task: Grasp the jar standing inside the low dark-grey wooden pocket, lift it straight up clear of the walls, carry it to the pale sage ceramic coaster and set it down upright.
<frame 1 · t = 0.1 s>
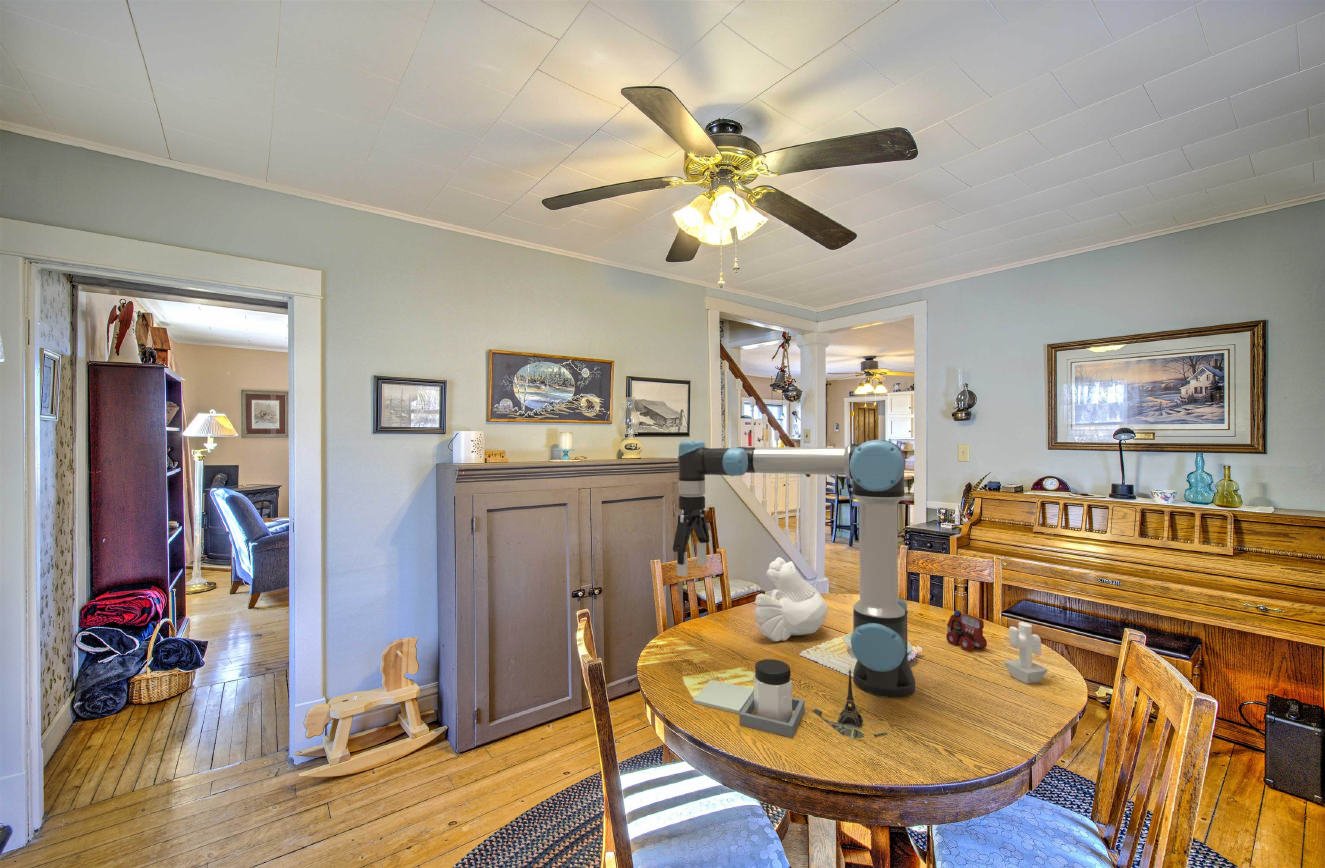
hand: (692, 570, 150), 28 cm above the table, fingers open, 13 cm apart
pocket: (772, 717, 124), on the table
figurine: (1025, 679, 143), on the table
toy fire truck: (965, 646, 165), on the table
eiffel tower figurine: (848, 724, 122), on the table
decorative rooster: (787, 635, 175), on the table
jar: (772, 718, 124), resting in pocket
coaster: (724, 697, 134), on the table
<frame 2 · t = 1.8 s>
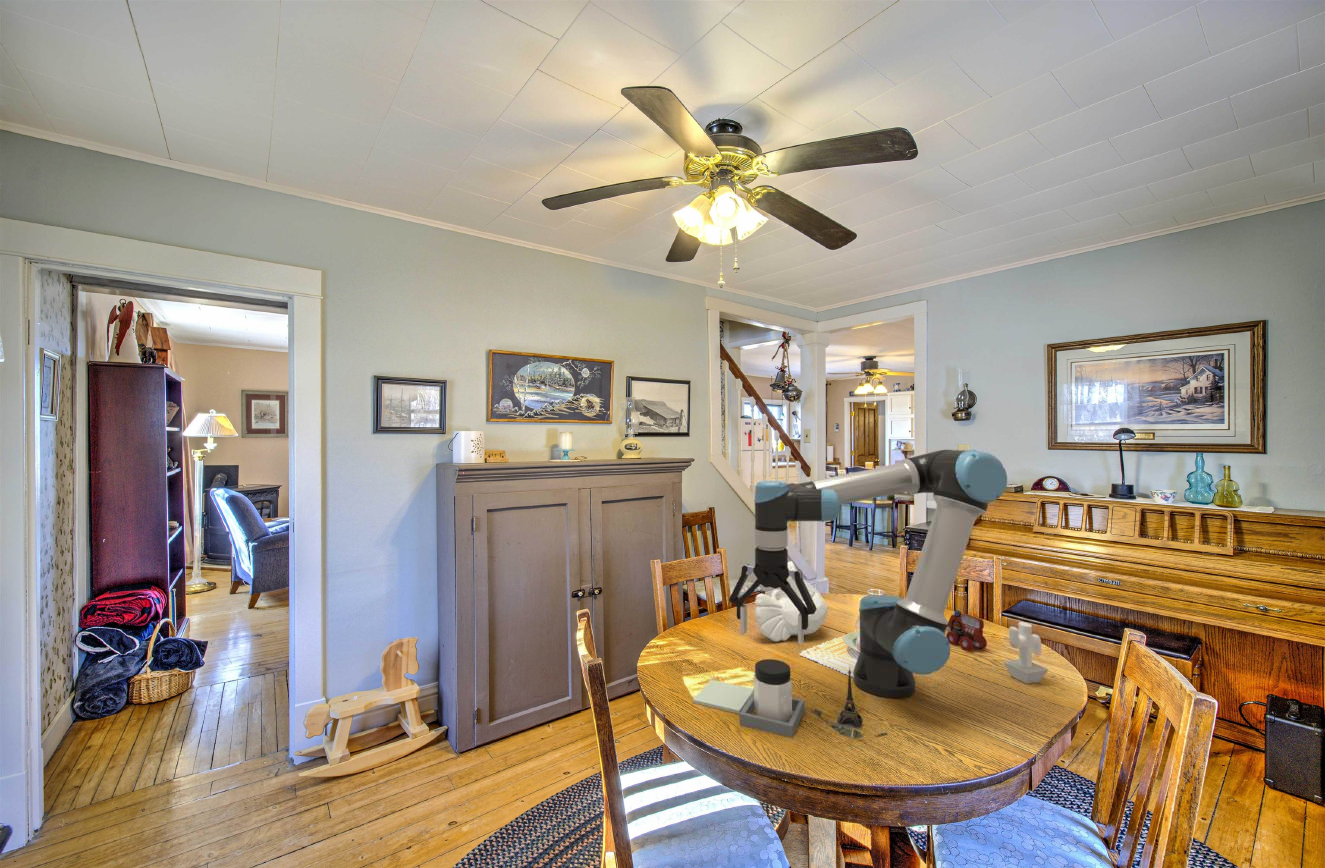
hand: (771, 637, 124), 18 cm above the table, fingers open, 13 cm apart
nothing on the table moved.
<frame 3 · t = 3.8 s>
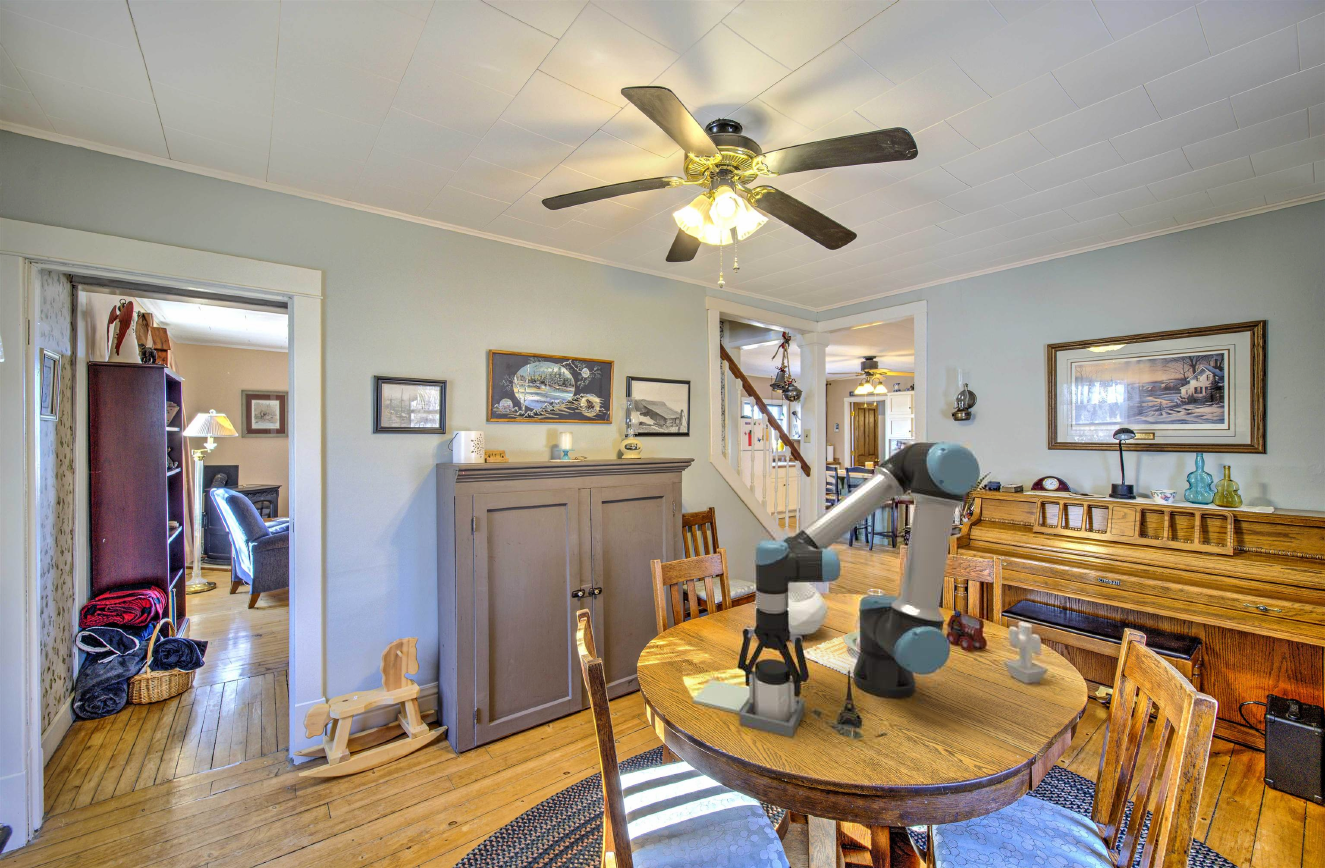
hand: (772, 704, 124), 3 cm above the table, fingers closed on jar, 9 cm apart
jar: (772, 718, 124), resting in pocket, touching gripper
everything else where it was.
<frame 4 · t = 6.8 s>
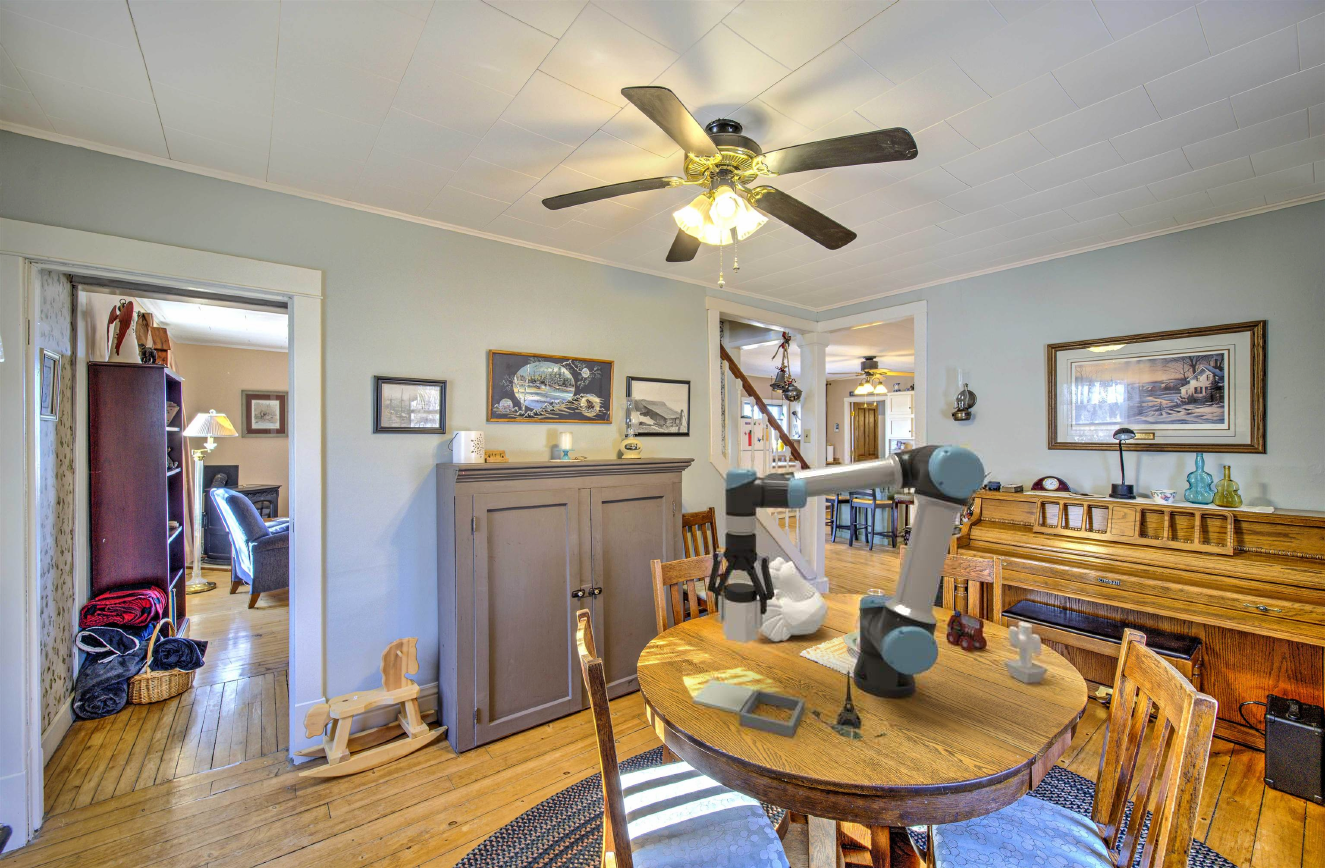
hand: (740, 623, 130), 20 cm above the table, fingers closed on jar, 9 cm apart
jar: (740, 637, 130), point 17 cm above the table, touching gripper
everything else where it was.
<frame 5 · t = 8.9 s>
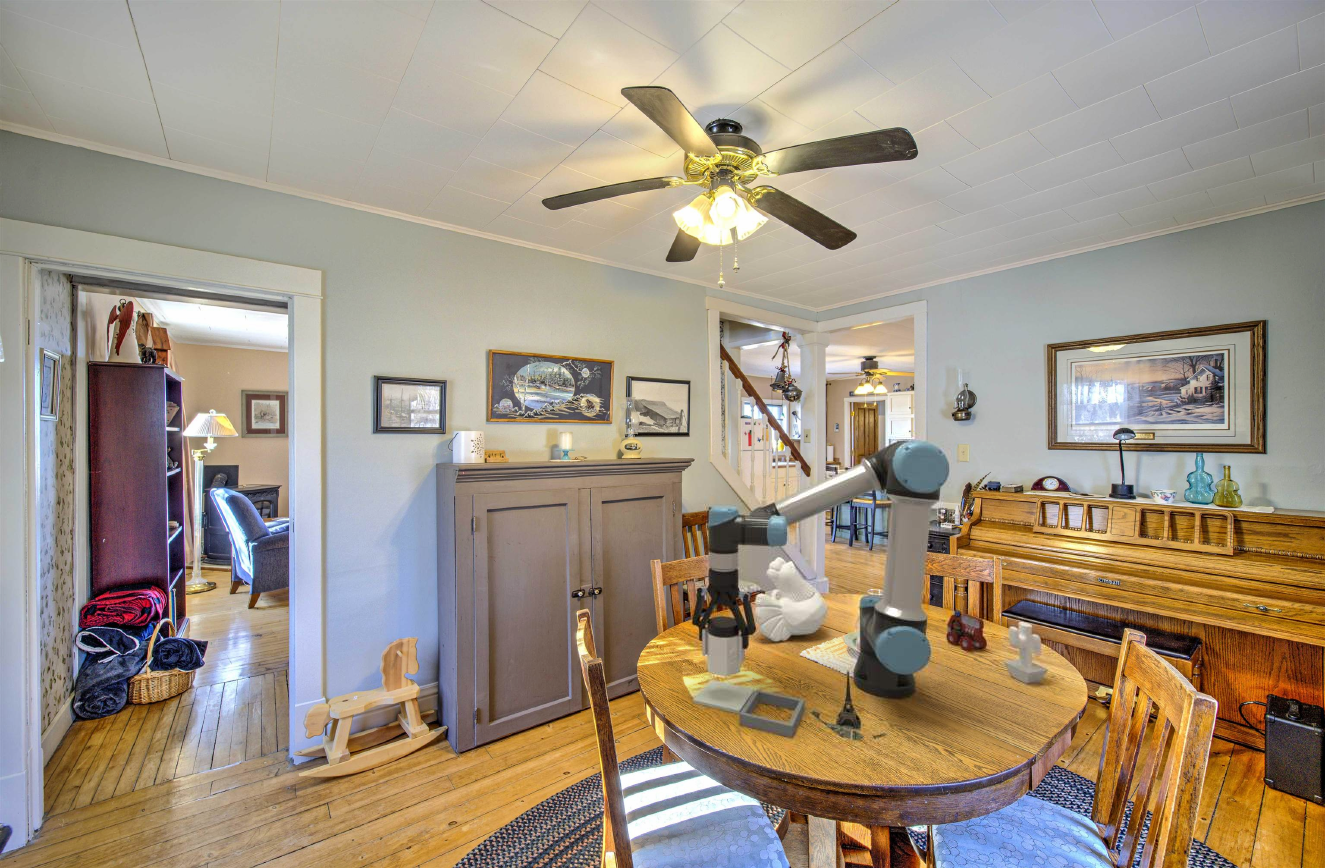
hand: (723, 657, 134), 10 cm above the table, fingers closed on jar, 9 cm apart
jar: (723, 669, 134), point 7 cm above the table, touching gripper
everything else where it was.
when the fingers open (5 cm above the table, at t = 10.3 s): jar drops 2 cm, resting on coaster.
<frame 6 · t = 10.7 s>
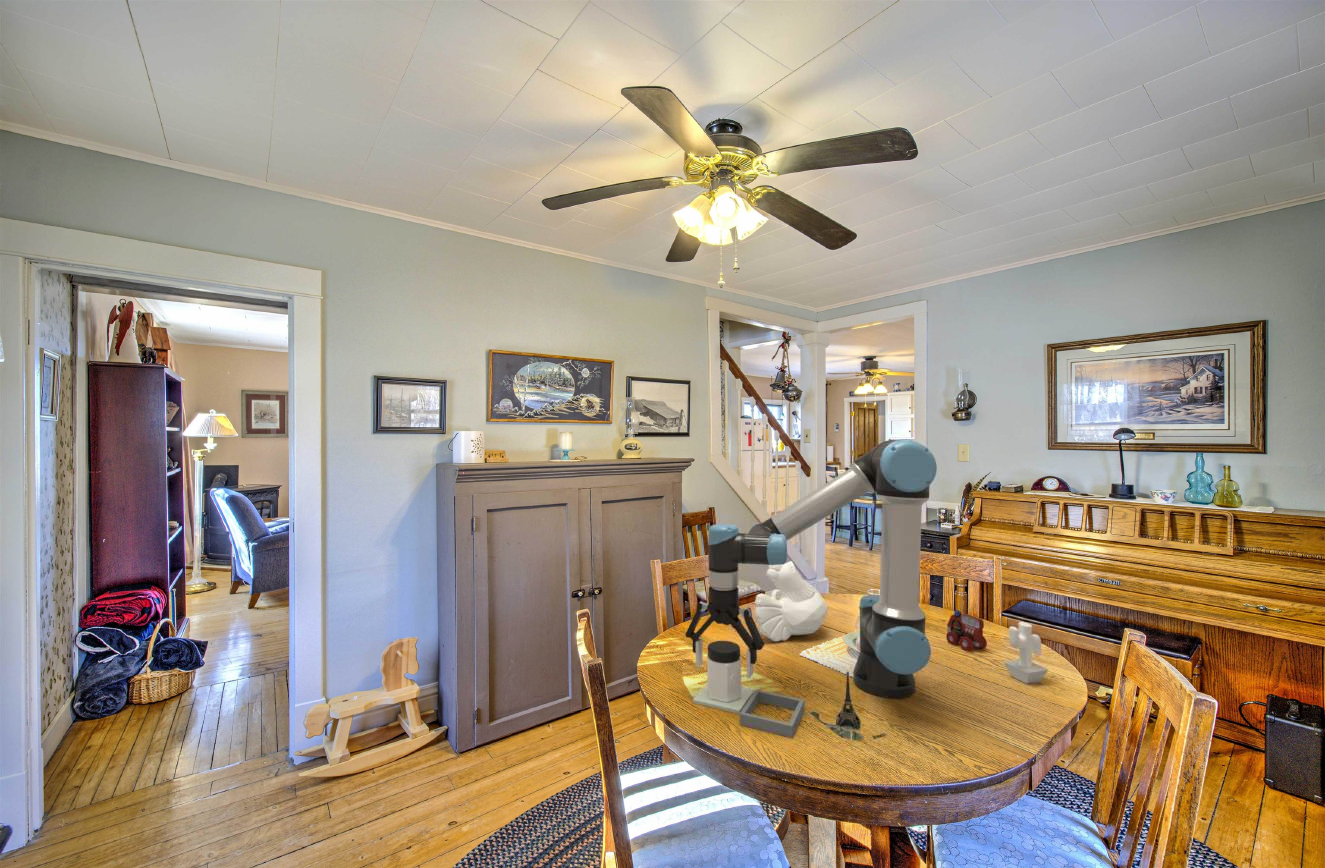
hand: (724, 670, 134), 7 cm above the table, fingers open, 13 cm apart
jar: (724, 694, 134), point 1 cm above the table, touching coaster
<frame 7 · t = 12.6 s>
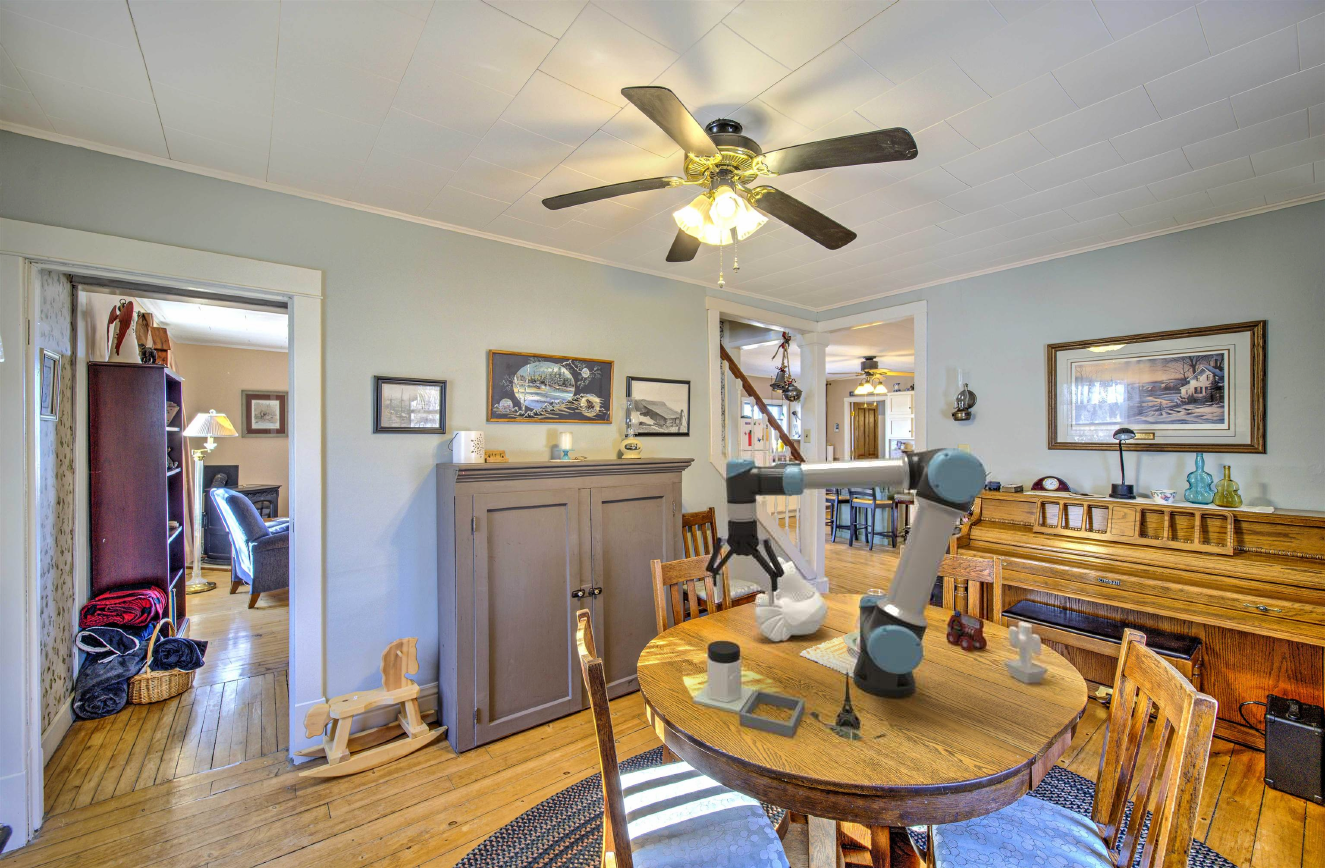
hand: (745, 601, 136), 23 cm above the table, fingers open, 13 cm apart
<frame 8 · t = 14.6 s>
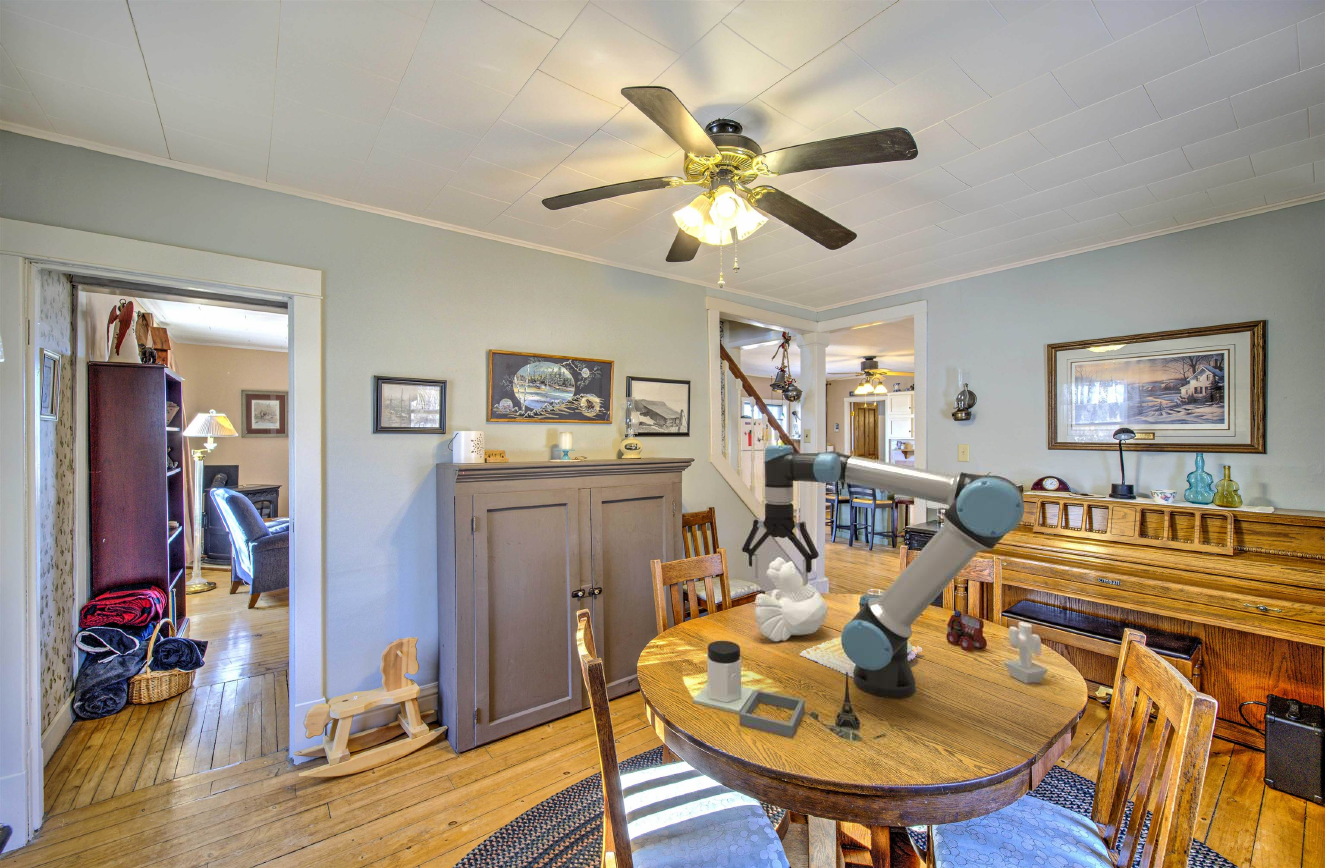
hand: (779, 581, 142), 27 cm above the table, fingers open, 13 cm apart
at the end: jar inside the target area on the coaster (0.0 cm from its centre), point 0.6 cm above the coaster's base; jar tilted 0°; jar touching coaster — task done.
